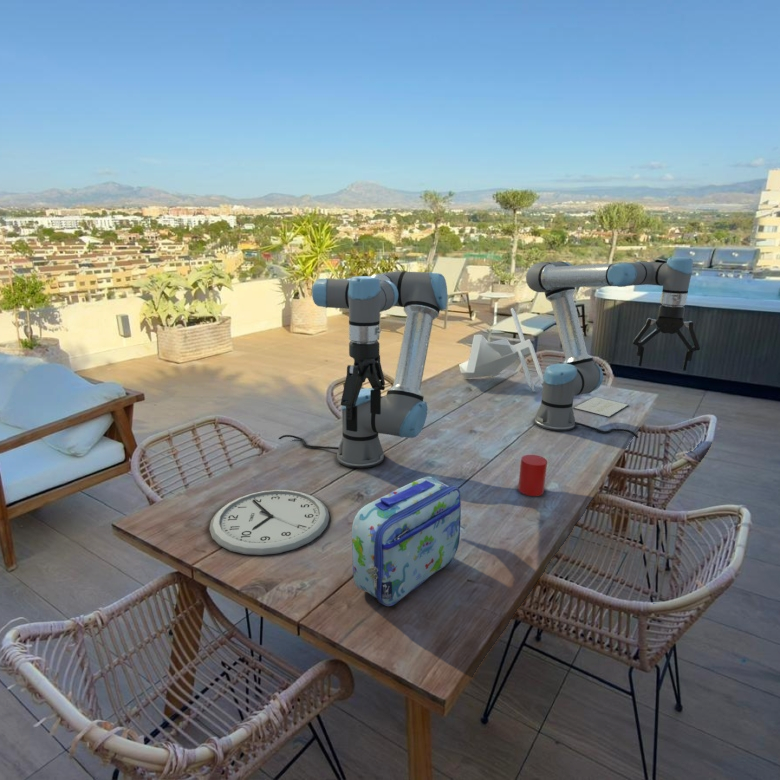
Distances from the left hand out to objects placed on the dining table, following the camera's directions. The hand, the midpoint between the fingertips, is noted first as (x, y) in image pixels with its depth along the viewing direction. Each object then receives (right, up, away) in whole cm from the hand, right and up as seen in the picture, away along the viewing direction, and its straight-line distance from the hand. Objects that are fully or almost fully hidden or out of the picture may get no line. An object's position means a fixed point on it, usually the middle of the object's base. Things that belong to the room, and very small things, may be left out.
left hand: (364, 421), depth 135 cm
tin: (+48, -21, +18) cm, 55 cm away
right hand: (+100, +16, +44) cm, 111 cm away
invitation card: (+98, +1, +91) cm, 134 cm away
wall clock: (-24, -26, 0) cm, 35 cm away
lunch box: (+10, -33, -21) cm, 40 cm away
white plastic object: (+59, +10, +120) cm, 134 cm away
